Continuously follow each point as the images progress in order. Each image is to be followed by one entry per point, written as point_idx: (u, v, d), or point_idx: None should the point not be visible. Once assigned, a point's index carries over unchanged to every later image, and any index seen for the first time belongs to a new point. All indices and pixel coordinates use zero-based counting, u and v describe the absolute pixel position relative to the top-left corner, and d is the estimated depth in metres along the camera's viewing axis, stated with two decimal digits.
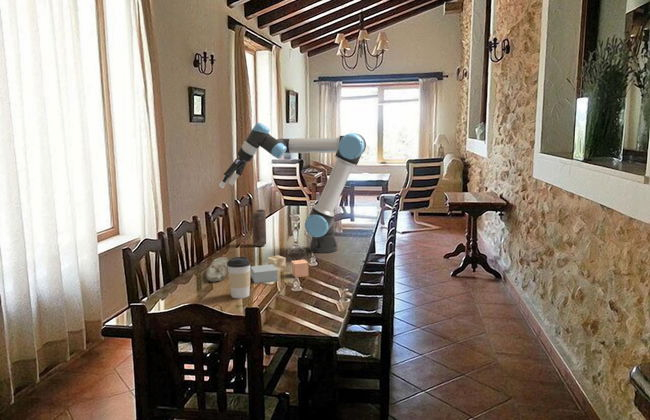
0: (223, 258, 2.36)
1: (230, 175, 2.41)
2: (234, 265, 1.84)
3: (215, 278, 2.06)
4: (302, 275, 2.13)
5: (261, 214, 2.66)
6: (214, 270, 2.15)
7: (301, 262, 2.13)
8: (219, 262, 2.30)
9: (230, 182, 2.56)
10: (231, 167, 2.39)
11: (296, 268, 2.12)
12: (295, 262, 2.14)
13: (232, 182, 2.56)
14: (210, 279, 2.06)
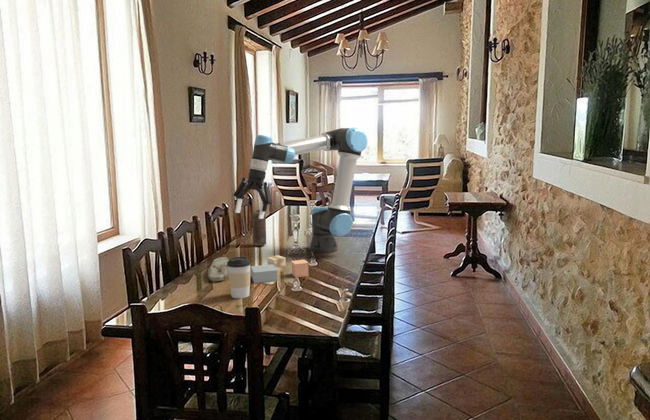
0: (223, 258, 2.36)
1: None
2: (234, 265, 1.84)
3: (218, 278, 2.06)
4: (302, 275, 2.13)
5: None
6: (216, 270, 2.15)
7: (301, 262, 2.13)
8: (220, 262, 2.30)
9: (238, 211, 2.25)
10: (268, 193, 2.17)
11: (296, 268, 2.12)
12: (295, 262, 2.14)
13: (239, 209, 2.25)
14: (213, 279, 2.06)
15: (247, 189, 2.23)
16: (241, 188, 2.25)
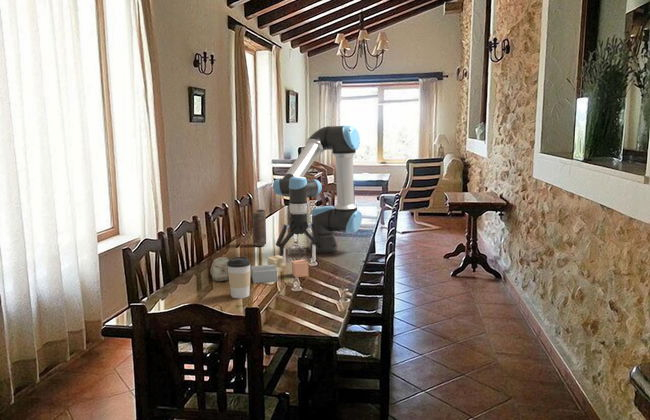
0: (223, 258, 2.36)
1: None
2: (234, 265, 1.84)
3: (222, 277, 2.07)
4: (302, 275, 2.13)
5: (261, 214, 2.66)
6: (219, 270, 2.15)
7: (301, 262, 2.13)
8: (220, 262, 2.30)
9: None
10: None
11: (296, 268, 2.12)
12: (295, 262, 2.14)
13: None
14: (217, 279, 2.07)
15: None
16: None
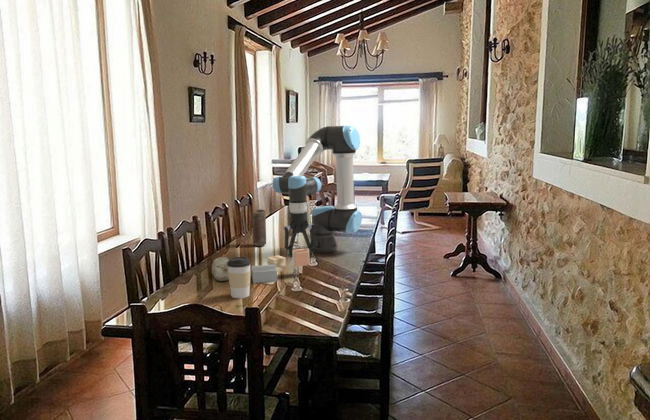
0: (223, 258, 2.36)
1: None
2: (234, 265, 1.84)
3: (225, 277, 2.07)
4: (302, 264, 2.13)
5: (261, 214, 2.66)
6: (221, 270, 2.15)
7: (301, 251, 2.13)
8: (221, 262, 2.30)
9: None
10: None
11: (296, 257, 2.11)
12: (295, 251, 2.14)
13: None
14: (220, 278, 2.07)
15: None
16: None
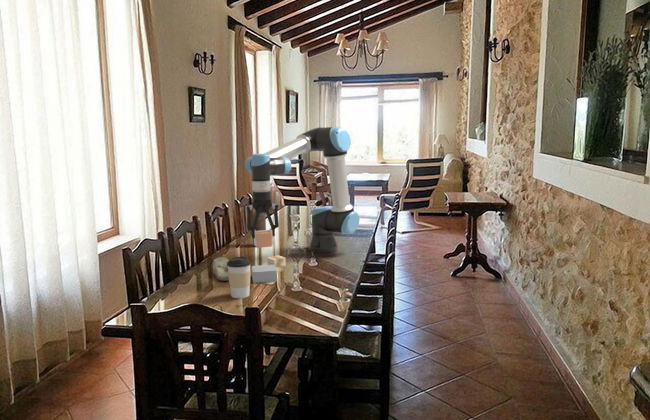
0: (223, 258, 2.36)
1: None
2: (234, 265, 1.84)
3: (227, 277, 2.07)
4: (265, 245, 2.06)
5: (261, 214, 2.66)
6: (222, 269, 2.15)
7: (264, 232, 2.06)
8: (221, 262, 2.30)
9: (256, 243, 2.07)
10: None
11: (259, 238, 2.04)
12: (258, 232, 2.07)
13: None
14: (222, 278, 2.07)
15: None
16: None
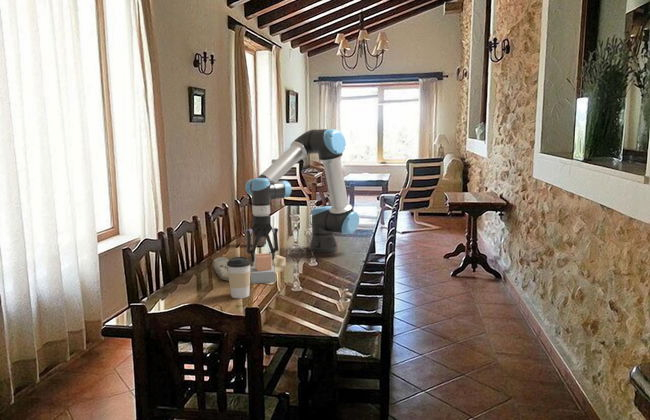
0: (223, 258, 2.36)
1: None
2: (234, 265, 1.84)
3: None
4: (265, 269, 2.07)
5: None
6: (225, 269, 2.16)
7: (264, 255, 2.07)
8: (222, 262, 2.30)
9: None
10: None
11: (258, 261, 2.05)
12: (258, 255, 2.08)
13: None
14: (227, 278, 2.07)
15: None
16: None
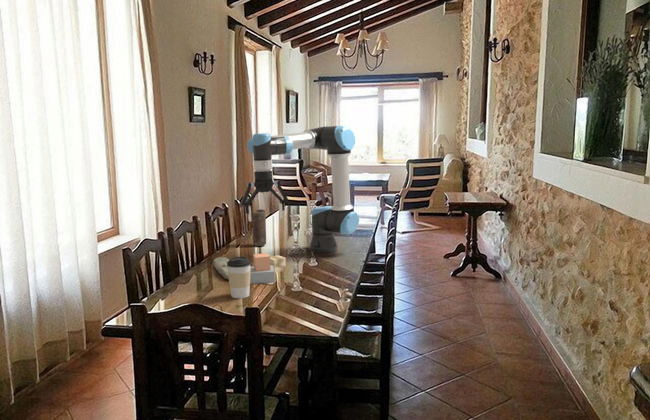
0: (223, 258, 2.36)
1: None
2: (234, 265, 1.84)
3: None
4: (263, 269, 2.06)
5: (261, 214, 2.66)
6: None
7: (263, 256, 2.07)
8: (223, 262, 2.30)
9: (250, 219, 2.08)
10: (283, 191, 2.10)
11: (257, 262, 2.05)
12: (256, 256, 2.07)
13: None
14: None
15: None
16: None
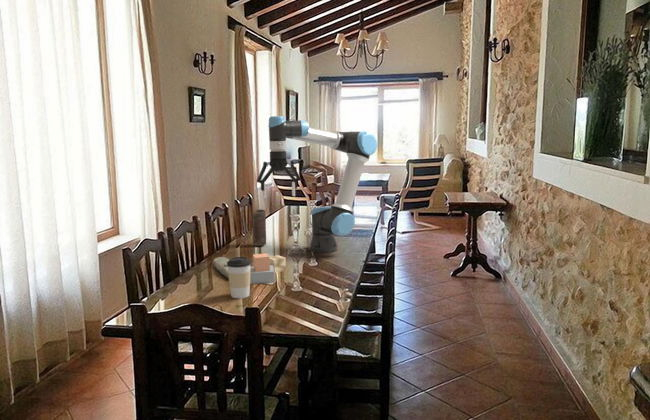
0: (222, 258, 2.36)
1: None
2: (234, 265, 1.84)
3: None
4: (263, 269, 2.06)
5: (261, 214, 2.66)
6: None
7: (262, 256, 2.06)
8: (223, 262, 2.30)
9: None
10: None
11: (256, 262, 2.04)
12: (256, 256, 2.07)
13: None
14: None
15: None
16: None
